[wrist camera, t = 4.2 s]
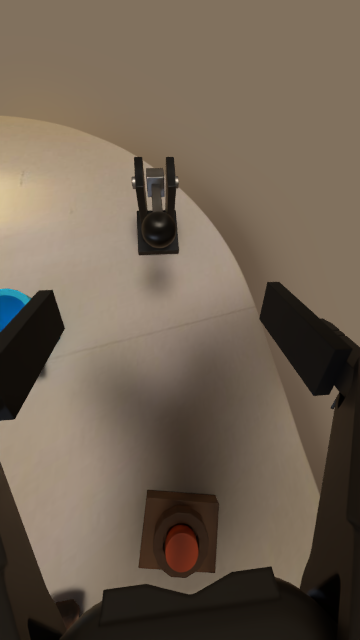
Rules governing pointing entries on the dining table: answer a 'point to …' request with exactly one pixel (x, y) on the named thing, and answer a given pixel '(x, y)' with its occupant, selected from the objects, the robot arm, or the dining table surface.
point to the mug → (11, 305)
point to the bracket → (139, 185)
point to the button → (181, 548)
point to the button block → (177, 510)
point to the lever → (157, 213)
